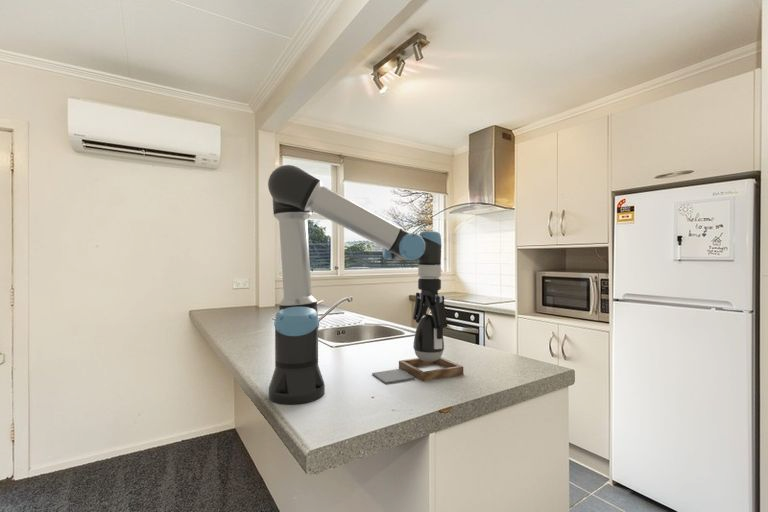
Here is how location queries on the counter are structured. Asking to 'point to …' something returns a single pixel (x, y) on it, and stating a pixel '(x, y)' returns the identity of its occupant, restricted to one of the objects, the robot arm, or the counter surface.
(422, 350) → the pump dispenser
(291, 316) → the robot arm
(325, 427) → the counter surface
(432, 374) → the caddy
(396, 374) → the pad
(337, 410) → the counter surface
